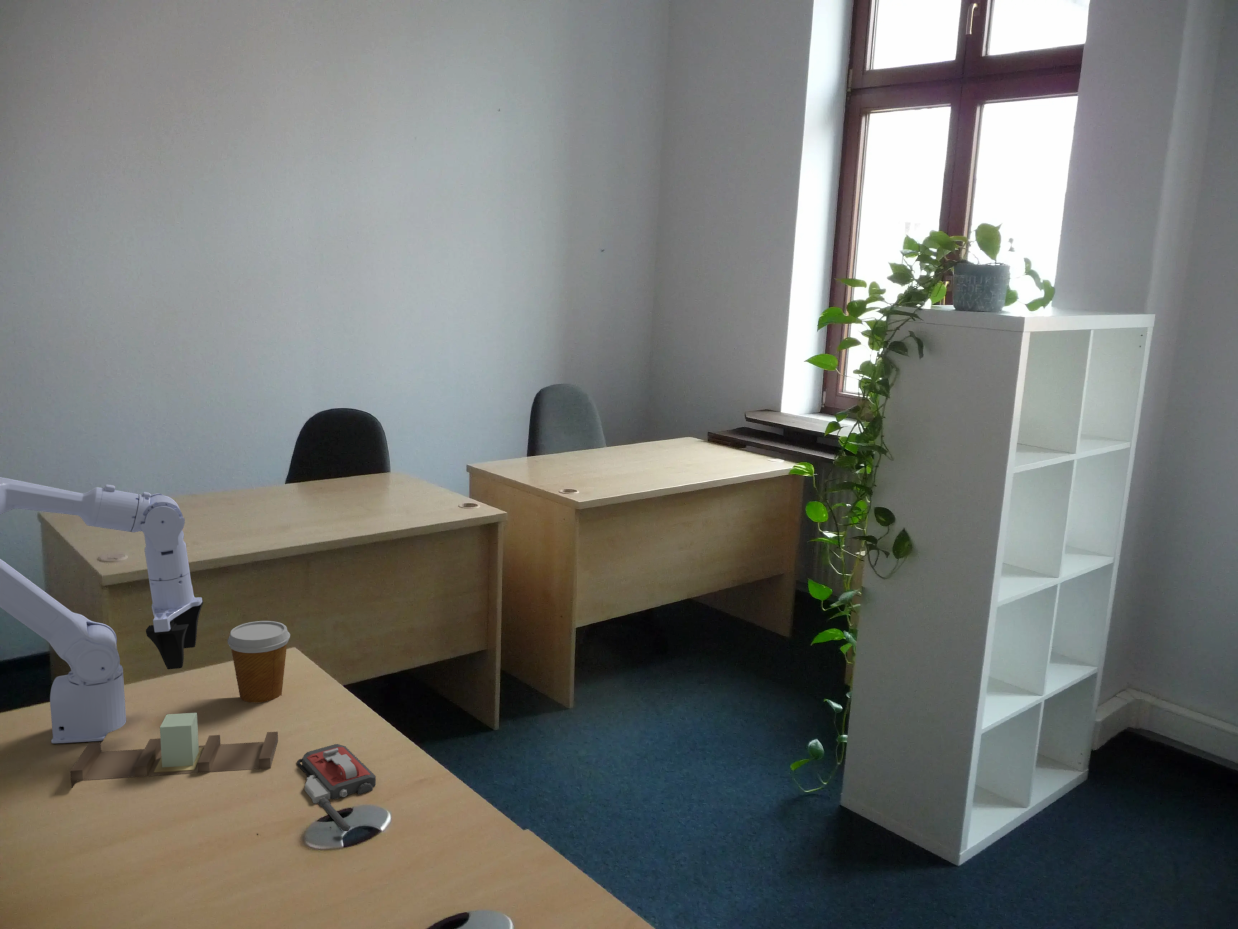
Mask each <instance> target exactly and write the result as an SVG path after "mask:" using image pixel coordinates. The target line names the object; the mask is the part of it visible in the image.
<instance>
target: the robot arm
mask: <svg viewBox="0 0 1238 929" xmlns="http://www.w3.org/2000/svg"><path fill="white" fill-rule="evenodd" d="M15 509H16V510H28V511H35V512H43V513H54V514H61V515H62V514H63V515H69V516H78V517H80V518H81V519H82V521H83V523H84V524H86V526H88V527H95V528H99V529H101V528H102V529H107V530H108V529H109V530H113V531H121V532H126V533H127V532H129V533H138V532H142V533H143V536H144V541H145V542H144V543H145V547H144V556H145V562H146V568H147V574H148V581H149V582H148V583H149V590H150V593H151V594H150V595H151V601H152V604H151V611H152V615H153V617H154V618H153V619H152V623H153V625H152V624H151V625H148V626H147V628H146V629H145V634H146V637H147V638H148V639H149V640H150V641H152V643H153V644H154V645H155V647H156V649H157V650H158V652H159V654H160V656H161V658H162V660H163V663H164V665H165V667H166V669H167V670H177V669H182V668H183V666H184V659H185V658H184V657H185V656H184V655H185V654H184V653H185V652H184V649H193V648H195V647H196V644H197V638H198V637H197V635H198V623H199V618H200V615H201V614H200V613H201V610H202V607H203V605H204V600H203V597H201V596H200V597H199V596H198V597H195V595H194V588H193V584H192V579H191V571H190V570H191V569H190V565H189V557H188V556H189V555H188V550H187V544H186V541H184V538H185V534H184V530H183V529H184V527H185V524H186V522H185V521H186V519H185V517H184V515H183V512H182V511H181V508H180V506H179V504H178V503H177V501H176V500H174V499H173V498H172V497H170V496H168V495H164V494H162V493H160V492H157V493H150V492H148V491H143V492H142V494H140V493H135V492H129V491H123V490H118V489H117V490H116V486H115V485H113V484H107V483H106V484H105V485H104V487H100V486H99V487H98V486H95V487H93V488H91V489H90V490H88V491H86V492H78V491H72V490H68V489H62V488H58V487H53V486H50V485H49V486H47V485H43V484H38V483H33V482H29V481H23V480H17V479H12V478H8V477H2V476H0V515H2V514H5V513H7V512H9V511H12V510H15ZM0 609H2V610H3V611H5V612H6V613H7V614H8V615H10V616H12V617H13V618H14V619H16V620H17V621H19V622H20V623H21V624H23V625H25V626H26V627H27V629H30V630H31V631H33V632H34V633H36V634H37V635H38V636H40V638H42V639H44V640H46V642H48V644H49V645H50V646H51V647H52V649H53V650H54V652H55V653H56V655H58V657H59V658H60V659H62V660H63V661H64V662H66V663H67V665H68V666H69V667H70V671H69V672H68V674H64V675H59V676H56V677H55V678H54V680H53V682H52V685H51V688H50V694H49V705H50V706H49V707H50V718H51V729H52V732H51V733H52V738H51V744H70V743H71V744H72V743H85V742H88V743H90V742H102V741H104V739H105V738H106V737H107V735H108V733H109V734H110V733H112V732H114V731H117V730H119V729H120V728H122V727H124V725H125V724H126V722H127V713H126V712H127V711H126V698H125V683H124V682H125V681H124V667H123V666H122V664H120V662H121V658H120V653H119V651H118V646H117V643H118V638H117V634H116V632H115V631H114V629H113V628H112V627H111V626H109V625H107V624H105V623H102V622H98V621H97V622H96V621H93V620H91V619H89V618H87V617H86V616H84V615H83V614H80V613H77V612H73V611H72V610H70V609H69V608H68V607H66V606H65V605H63V604H62V603H61V602H59V601H58V600H57V599H55V597H52V596H51V595H50V594H49V593H47V592H45V590H44V589H42V588H41V587H39V586H38V585H37V584H35V583H33V581H31V580H30V579H28V578H27V577H26V576H24V575H23V574H22V573H20V572H19V571H17V570H16V569H15V568H14V567H13V566H11V565H9V563H7V562H5V560H3V559H1V558H0Z"/></svg>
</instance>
